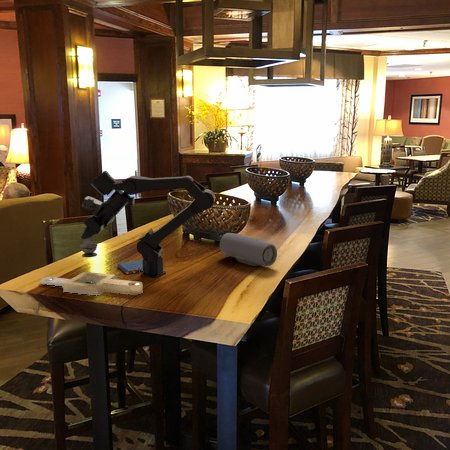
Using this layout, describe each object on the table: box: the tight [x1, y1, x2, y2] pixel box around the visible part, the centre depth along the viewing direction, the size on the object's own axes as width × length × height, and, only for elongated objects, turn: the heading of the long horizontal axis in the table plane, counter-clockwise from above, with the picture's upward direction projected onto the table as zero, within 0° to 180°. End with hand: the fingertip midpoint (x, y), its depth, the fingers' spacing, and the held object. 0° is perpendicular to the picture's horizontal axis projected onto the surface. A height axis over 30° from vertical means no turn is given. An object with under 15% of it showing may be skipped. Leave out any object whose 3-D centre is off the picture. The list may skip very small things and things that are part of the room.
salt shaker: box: [79, 224, 98, 258], centre depth 169 cm, size 6×6×12 cm
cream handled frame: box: [40, 276, 105, 297], centre depth 159 cm, size 24×12×2 cm, turn 74°
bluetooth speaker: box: [219, 232, 278, 267], centre depth 183 cm, size 23×9×10 cm, turn 41°
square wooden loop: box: [62, 271, 144, 296], centre depth 156 cm, size 24×12×3 cm, turn 74°
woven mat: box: [116, 259, 143, 275], centre depth 178 cm, size 10×11×2 cm
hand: (84, 236), depth 169 cm, fingers closed on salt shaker, 4 cm apart
